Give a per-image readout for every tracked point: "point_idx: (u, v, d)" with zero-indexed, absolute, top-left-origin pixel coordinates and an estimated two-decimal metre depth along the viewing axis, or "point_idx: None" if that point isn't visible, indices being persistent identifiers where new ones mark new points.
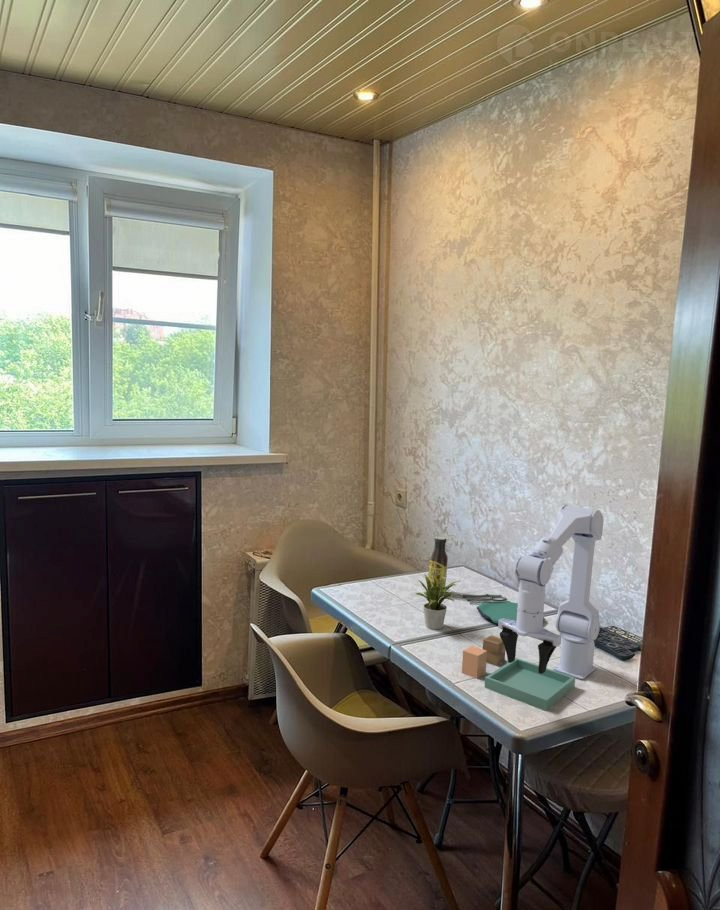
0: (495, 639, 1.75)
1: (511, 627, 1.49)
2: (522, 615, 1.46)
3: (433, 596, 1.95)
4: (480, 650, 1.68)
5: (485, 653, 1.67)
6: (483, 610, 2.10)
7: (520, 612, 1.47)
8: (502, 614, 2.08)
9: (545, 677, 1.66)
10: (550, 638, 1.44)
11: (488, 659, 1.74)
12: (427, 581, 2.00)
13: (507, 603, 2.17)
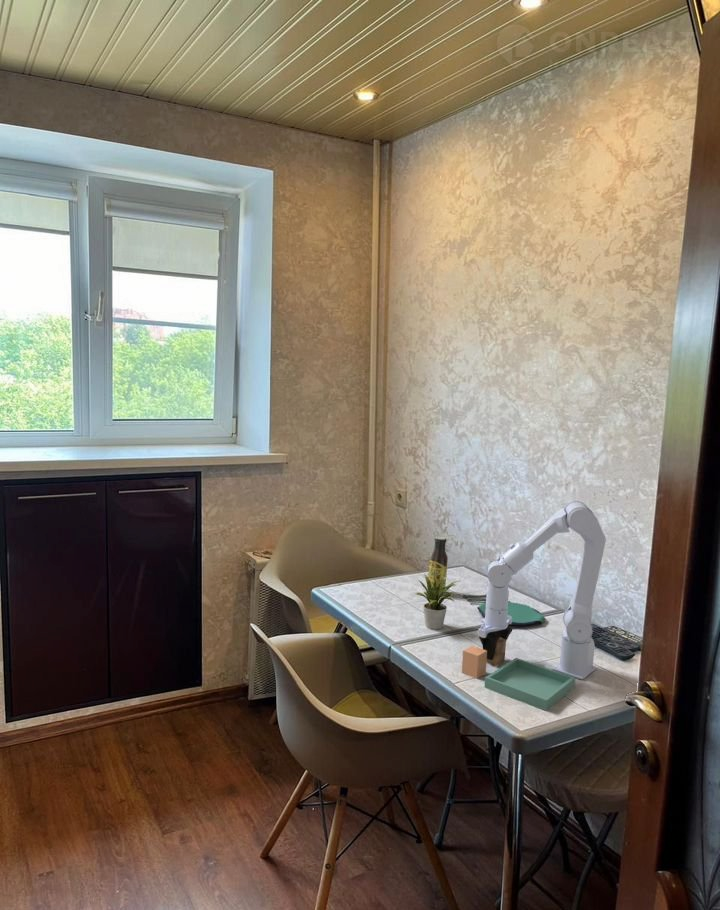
0: None
1: None
2: None
3: (433, 596, 1.95)
4: (480, 650, 1.68)
5: (485, 653, 1.67)
6: (484, 610, 2.10)
7: None
8: None
9: (545, 677, 1.66)
10: None
11: (488, 659, 1.74)
12: (427, 581, 2.00)
13: (508, 603, 2.17)
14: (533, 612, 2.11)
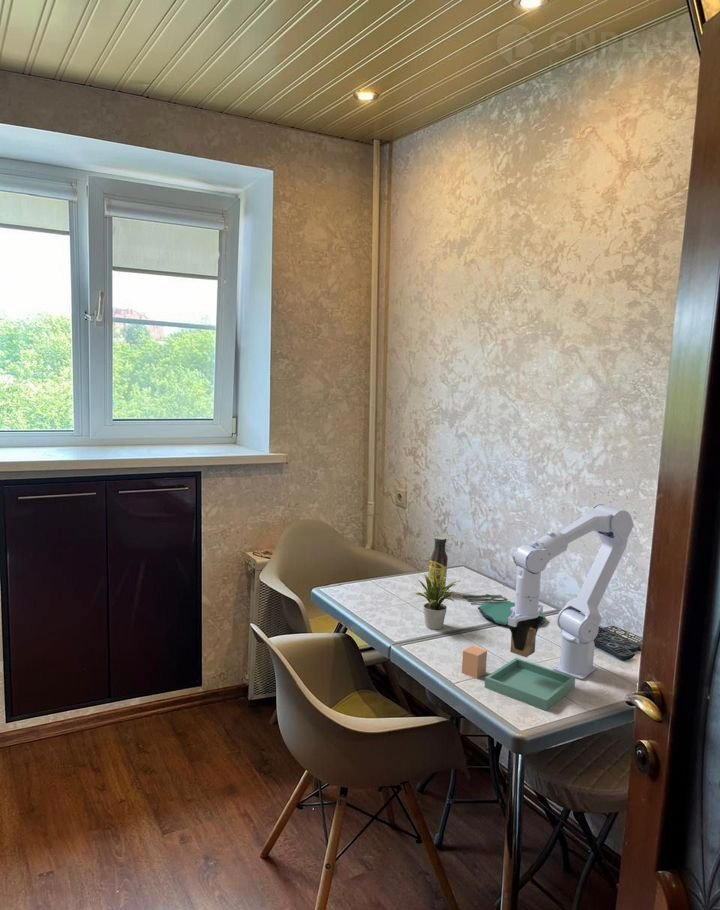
0: None
1: None
2: None
3: (433, 596, 1.95)
4: (480, 650, 1.68)
5: (485, 653, 1.67)
6: (485, 610, 2.10)
7: None
8: (504, 614, 2.08)
9: (545, 677, 1.66)
10: None
11: (517, 650, 1.64)
12: (427, 581, 2.00)
13: (508, 603, 2.17)
14: None
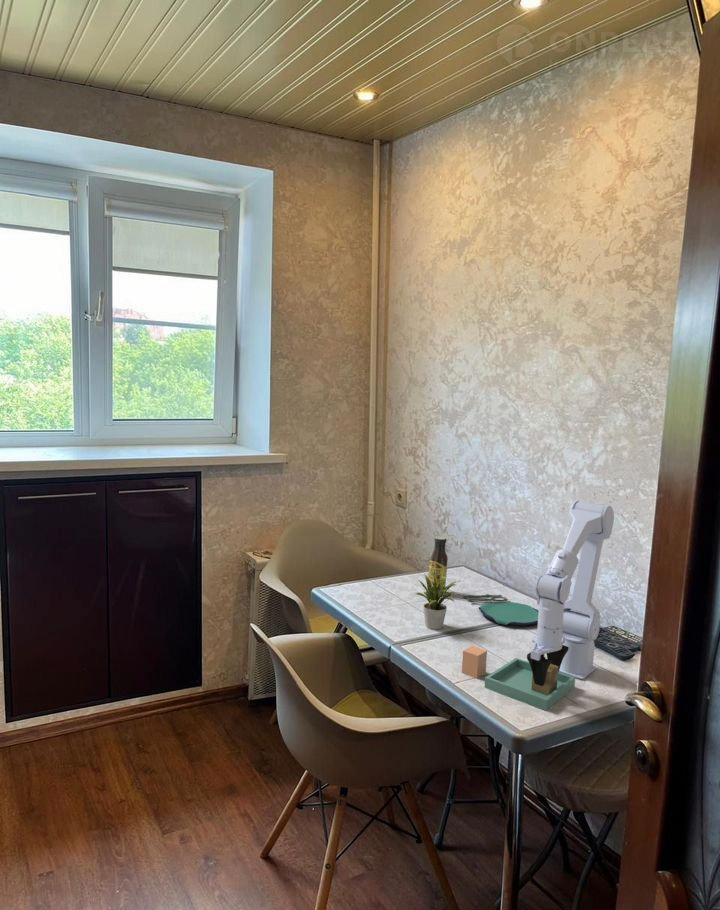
0: None
1: None
2: None
3: (433, 596, 1.95)
4: (480, 650, 1.68)
5: (485, 653, 1.67)
6: (485, 610, 2.10)
7: None
8: (504, 614, 2.08)
9: None
10: (533, 649, 1.54)
11: (539, 688, 1.57)
12: (427, 581, 2.00)
13: (508, 603, 2.17)
14: (534, 612, 2.11)
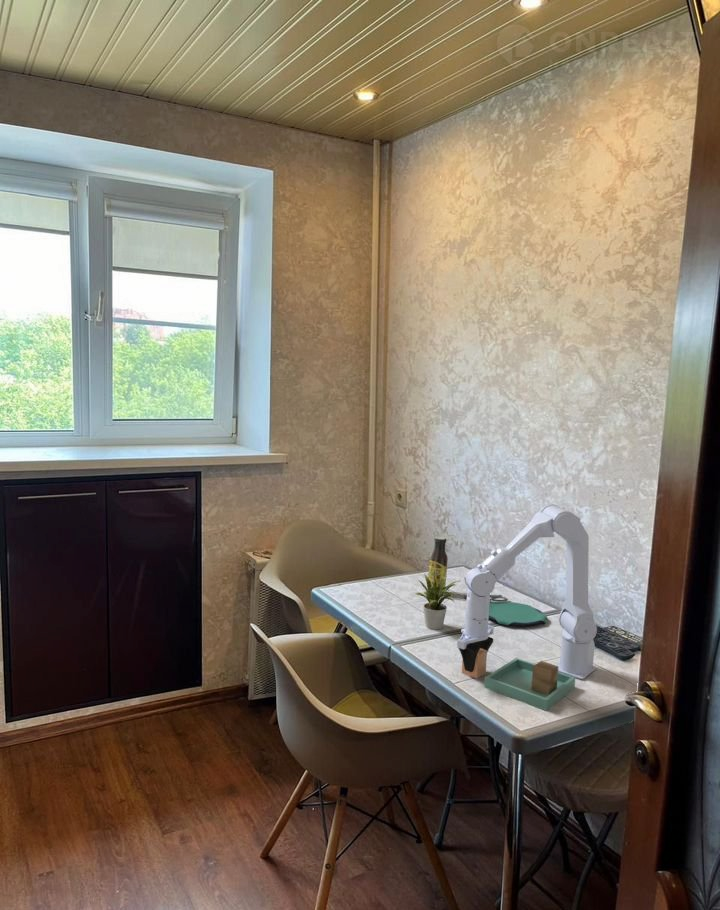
0: (546, 665, 1.58)
1: None
2: None
3: (433, 596, 1.95)
4: (480, 650, 1.68)
5: (485, 653, 1.67)
6: None
7: None
8: (506, 614, 2.08)
9: None
10: None
11: (539, 688, 1.57)
12: (427, 581, 2.00)
13: (509, 603, 2.17)
14: (535, 612, 2.11)
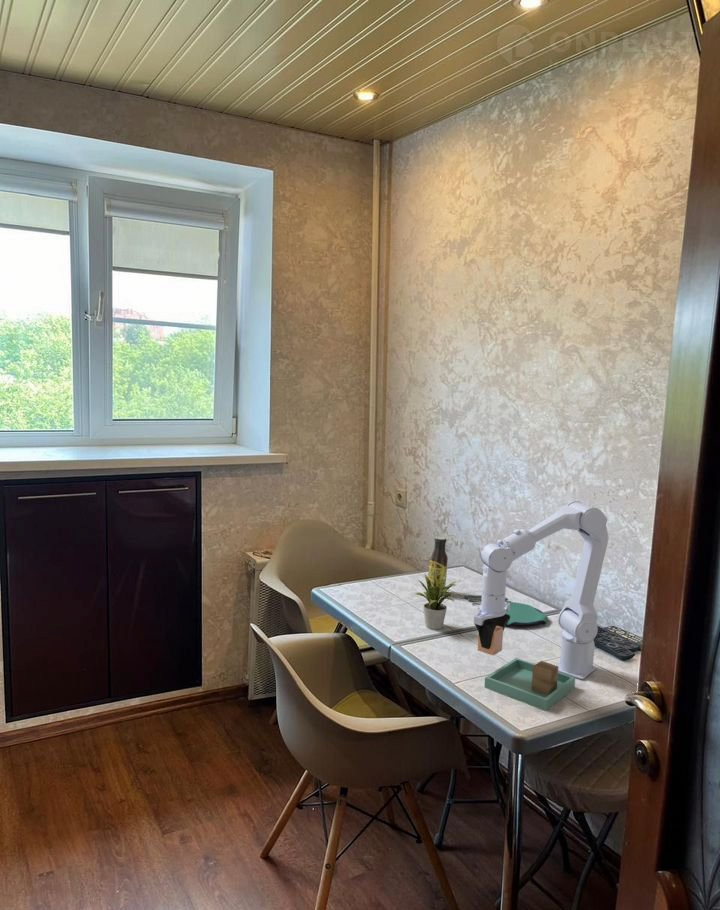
0: (546, 665, 1.58)
1: None
2: None
3: (433, 596, 1.95)
4: (496, 627, 1.65)
5: (501, 630, 1.65)
6: None
7: None
8: None
9: None
10: None
11: (539, 688, 1.57)
12: (427, 581, 2.00)
13: None
14: (535, 612, 2.11)
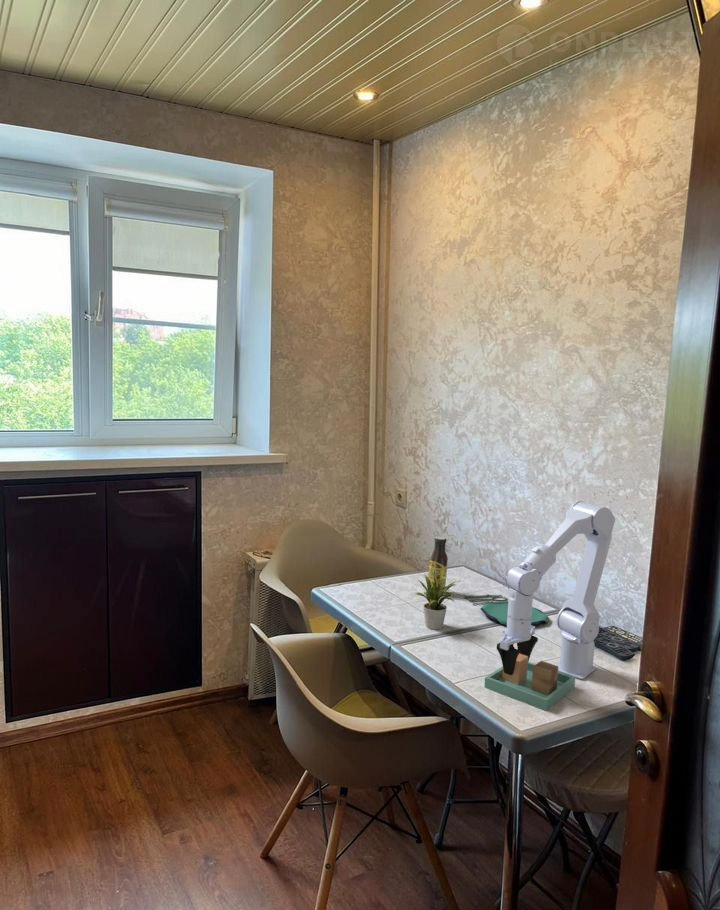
0: (546, 665, 1.58)
1: None
2: None
3: (433, 596, 1.95)
4: (521, 656, 1.63)
5: (526, 659, 1.63)
6: (488, 611, 2.10)
7: None
8: (507, 614, 2.08)
9: None
10: None
11: (539, 688, 1.57)
12: (427, 581, 2.00)
13: None
14: (536, 612, 2.11)
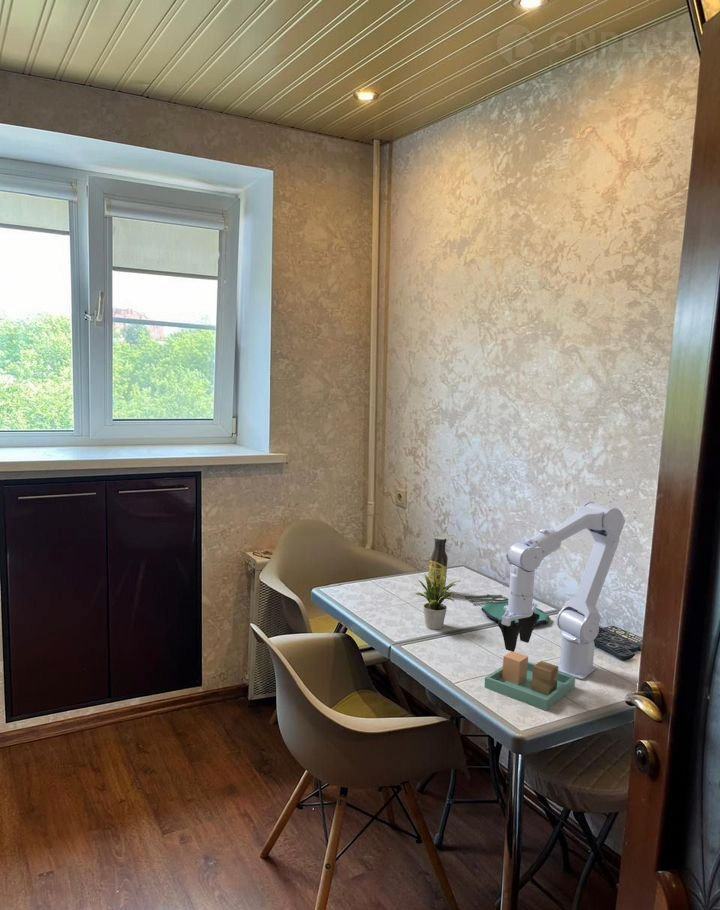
0: (546, 665, 1.58)
1: None
2: None
3: (433, 596, 1.95)
4: (521, 656, 1.63)
5: (526, 659, 1.63)
6: (488, 611, 2.09)
7: None
8: None
9: None
10: None
11: (539, 688, 1.57)
12: (427, 581, 2.00)
13: None
14: (537, 611, 2.11)
